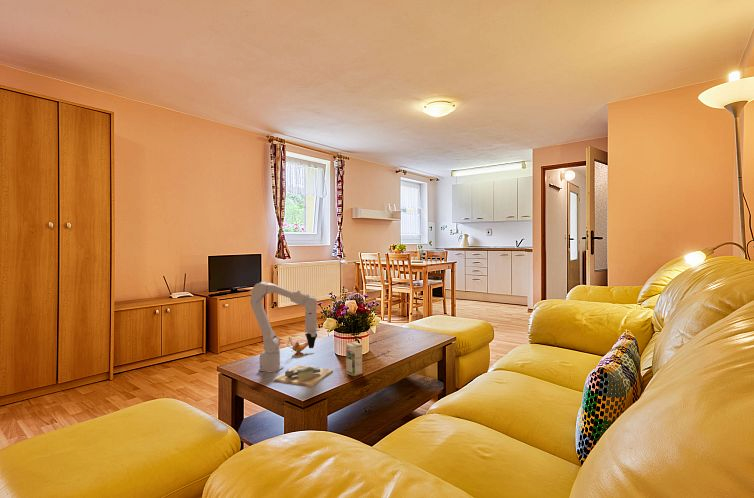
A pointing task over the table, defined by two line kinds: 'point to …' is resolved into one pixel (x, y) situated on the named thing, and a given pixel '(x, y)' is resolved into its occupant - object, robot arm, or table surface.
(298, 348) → the magic lamp
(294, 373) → the steel link
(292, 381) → the pintle board
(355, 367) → the syrup box
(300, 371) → the keeper
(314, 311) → the robot arm
